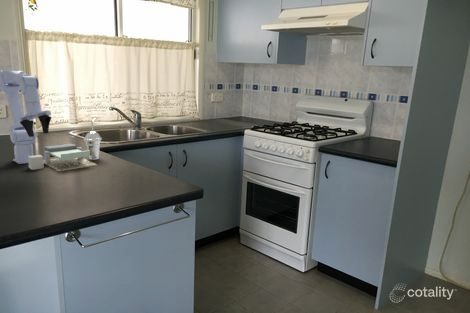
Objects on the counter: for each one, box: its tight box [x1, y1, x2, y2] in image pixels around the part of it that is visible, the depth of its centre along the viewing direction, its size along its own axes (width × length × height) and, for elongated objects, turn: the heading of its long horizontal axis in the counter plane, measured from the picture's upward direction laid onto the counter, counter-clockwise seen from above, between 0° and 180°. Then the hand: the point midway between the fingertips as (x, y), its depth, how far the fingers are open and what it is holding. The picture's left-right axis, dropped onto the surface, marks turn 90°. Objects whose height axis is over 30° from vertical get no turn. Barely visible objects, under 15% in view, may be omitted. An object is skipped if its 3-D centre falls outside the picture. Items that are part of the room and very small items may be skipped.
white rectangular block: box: [27, 154, 45, 171], centre depth 171 cm, size 4×5×6 cm
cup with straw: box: [83, 117, 103, 161], centre depth 190 cm, size 8×9×20 cm
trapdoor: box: [44, 143, 90, 160], centre depth 180 cm, size 21×13×4 cm, turn 45°
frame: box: [43, 146, 97, 172], centre depth 181 cm, size 22×18×6 cm
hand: (38, 134), depth 164 cm, fingers open, 7 cm apart
